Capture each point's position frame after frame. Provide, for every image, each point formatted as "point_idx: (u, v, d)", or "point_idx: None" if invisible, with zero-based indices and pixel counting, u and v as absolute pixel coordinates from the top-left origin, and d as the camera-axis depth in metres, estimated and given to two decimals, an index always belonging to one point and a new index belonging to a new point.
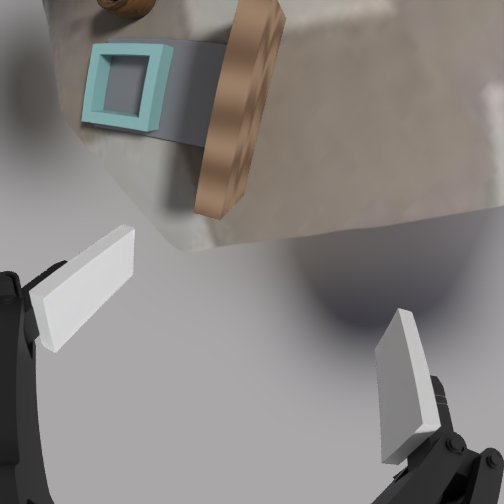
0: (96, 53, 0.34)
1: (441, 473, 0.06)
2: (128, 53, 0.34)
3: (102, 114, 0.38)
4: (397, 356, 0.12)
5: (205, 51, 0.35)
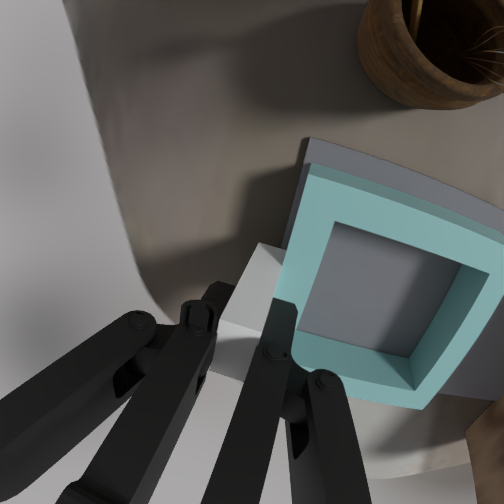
0: (320, 213, 0.13)
1: (271, 384, 0.09)
2: (437, 251, 0.13)
3: None
4: None
5: None
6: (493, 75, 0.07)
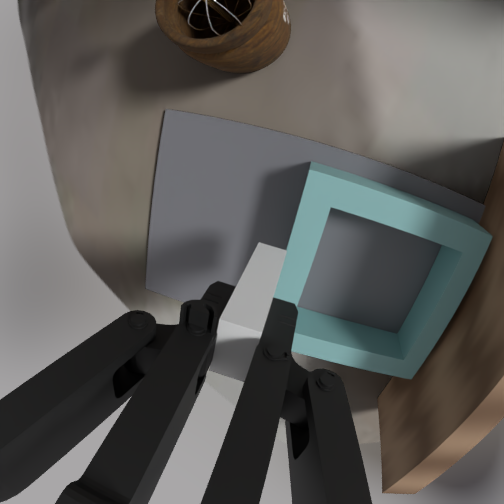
0: (319, 201, 0.17)
1: (271, 384, 0.09)
2: (416, 232, 0.16)
3: (320, 342, 0.20)
4: None
5: None
6: None
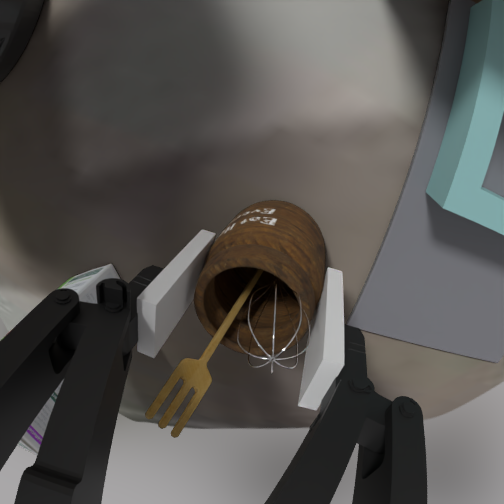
0: (474, 200, 0.12)
1: (351, 415, 0.08)
2: None
3: None
4: (320, 308, 0.14)
5: None
6: None
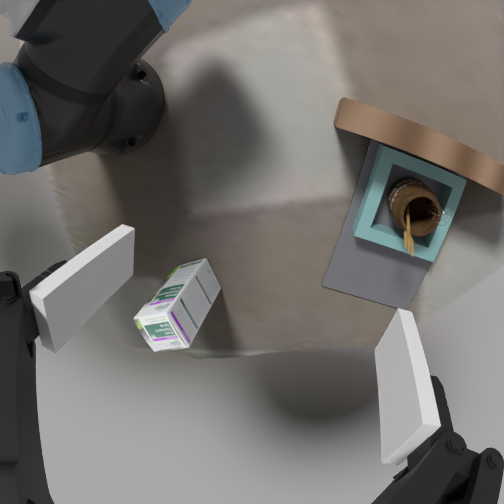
0: (367, 232, 0.38)
1: (441, 473, 0.06)
2: (382, 189, 0.35)
3: (436, 232, 0.36)
4: (397, 356, 0.12)
5: None
6: None
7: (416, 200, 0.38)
